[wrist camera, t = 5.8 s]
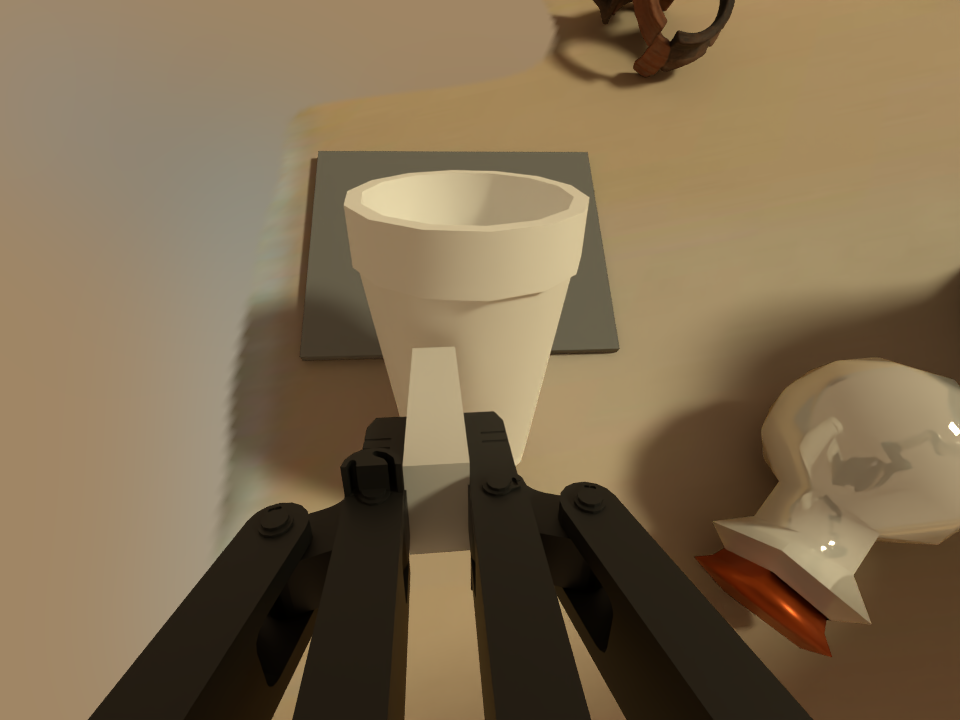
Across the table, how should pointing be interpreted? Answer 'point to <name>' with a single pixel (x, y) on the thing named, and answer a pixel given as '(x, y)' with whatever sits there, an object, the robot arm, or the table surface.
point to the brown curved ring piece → (660, 49)
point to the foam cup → (469, 278)
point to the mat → (331, 277)
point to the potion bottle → (842, 491)
